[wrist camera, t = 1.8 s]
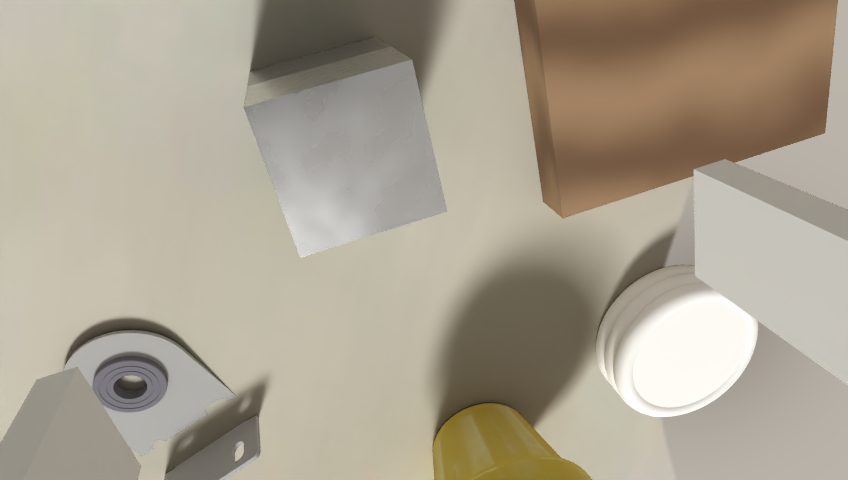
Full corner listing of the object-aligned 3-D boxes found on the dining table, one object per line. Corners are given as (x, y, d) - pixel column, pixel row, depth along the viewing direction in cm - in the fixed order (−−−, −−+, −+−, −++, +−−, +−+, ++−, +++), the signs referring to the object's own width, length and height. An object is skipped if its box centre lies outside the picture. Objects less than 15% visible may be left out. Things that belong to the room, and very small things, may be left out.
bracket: (139, 300, 30) (125, 338, 27) (261, 414, 35) (261, 456, 32) (36, 369, 31) (11, 413, 28) (171, 472, 35) (163, 520, 32)
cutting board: (489, -174, 25) (510, -188, 23) (815, -252, 27) (863, -272, 25) (543, 201, 33) (563, 218, 31) (789, 122, 35) (825, 133, 33)
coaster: (701, 382, 43) (735, 414, 40) (579, 393, 41) (604, 428, 37) (743, 259, 39) (784, 284, 36) (610, 263, 37) (641, 290, 33)
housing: (249, 71, 27) (243, 107, 20) (375, 36, 28) (411, 59, 20) (292, 189, 30) (300, 257, 23) (405, 155, 30) (447, 211, 23)
